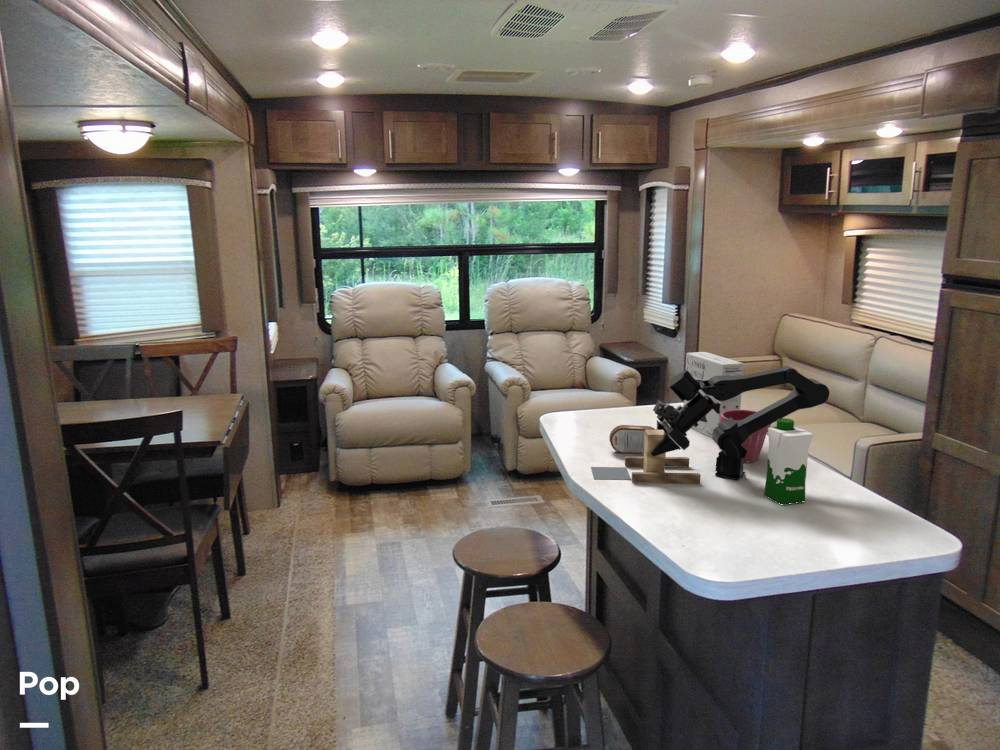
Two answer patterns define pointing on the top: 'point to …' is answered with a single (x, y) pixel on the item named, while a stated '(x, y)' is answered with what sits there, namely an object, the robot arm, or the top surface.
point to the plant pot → (755, 439)
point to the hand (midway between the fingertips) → (649, 450)
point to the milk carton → (787, 462)
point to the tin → (629, 438)
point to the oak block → (650, 443)
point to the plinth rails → (663, 477)
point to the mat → (611, 473)
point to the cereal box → (704, 369)
